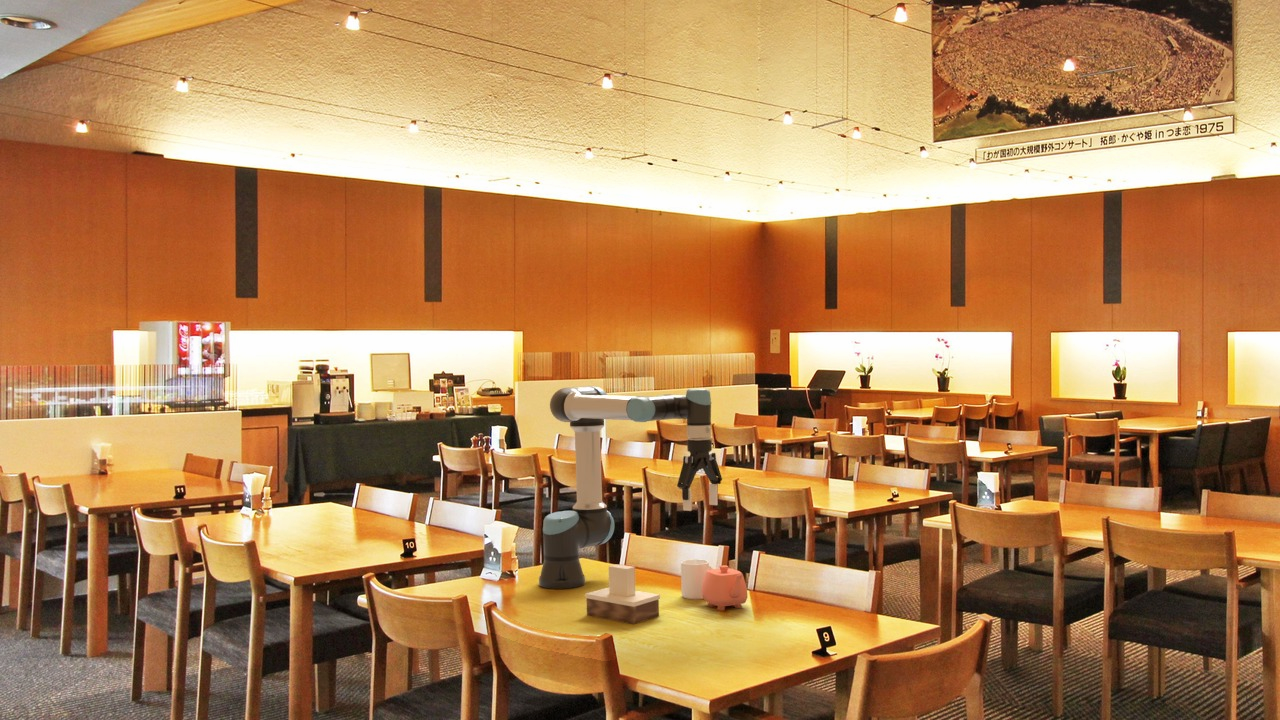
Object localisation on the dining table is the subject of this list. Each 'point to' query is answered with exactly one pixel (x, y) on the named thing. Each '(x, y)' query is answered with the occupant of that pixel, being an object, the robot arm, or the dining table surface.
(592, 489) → the robot arm
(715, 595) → the teapot
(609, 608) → the bento box
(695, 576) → the mug
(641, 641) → the dining table surface
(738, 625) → the dining table surface
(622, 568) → the lid
